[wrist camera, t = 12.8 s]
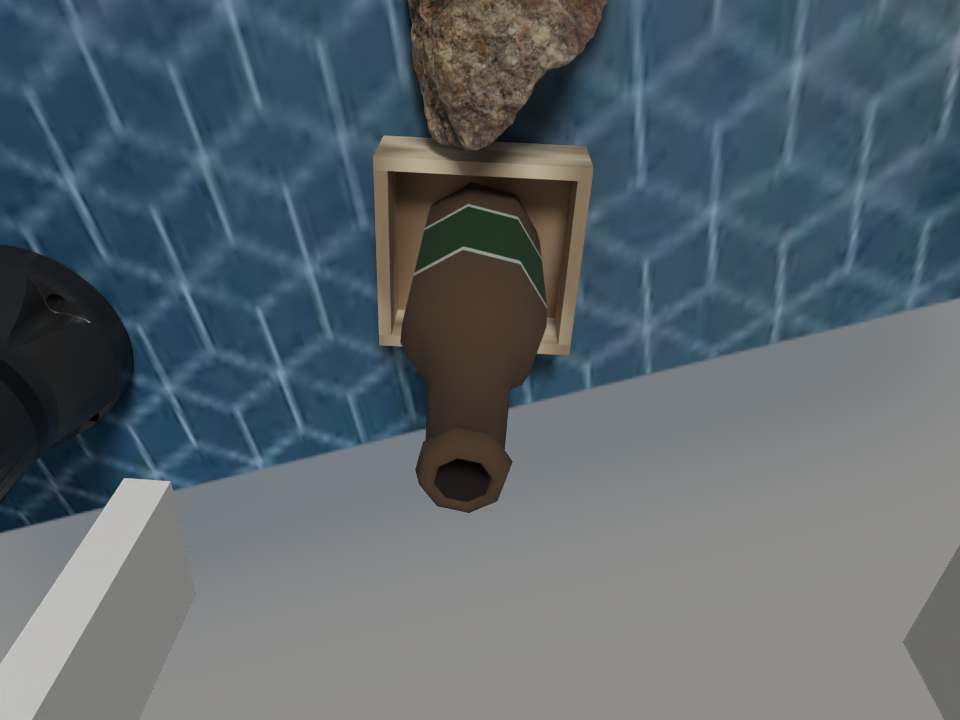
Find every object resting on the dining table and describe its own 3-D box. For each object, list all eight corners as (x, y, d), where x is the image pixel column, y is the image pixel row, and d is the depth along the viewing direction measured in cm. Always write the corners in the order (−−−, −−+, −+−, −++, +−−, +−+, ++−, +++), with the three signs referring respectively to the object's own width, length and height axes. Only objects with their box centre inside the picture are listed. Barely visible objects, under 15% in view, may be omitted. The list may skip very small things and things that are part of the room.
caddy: (388, 313, 52) (379, 345, 48) (383, 135, 45) (373, 156, 41) (564, 322, 52) (569, 355, 48) (586, 146, 45) (593, 168, 41)
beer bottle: (543, 282, 49) (572, 548, 29) (431, 295, 50) (382, 562, 30) (532, 171, 45) (557, 389, 25) (410, 186, 46) (337, 410, 26)
